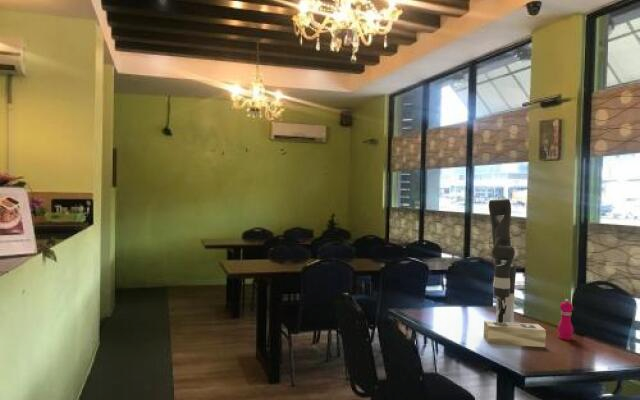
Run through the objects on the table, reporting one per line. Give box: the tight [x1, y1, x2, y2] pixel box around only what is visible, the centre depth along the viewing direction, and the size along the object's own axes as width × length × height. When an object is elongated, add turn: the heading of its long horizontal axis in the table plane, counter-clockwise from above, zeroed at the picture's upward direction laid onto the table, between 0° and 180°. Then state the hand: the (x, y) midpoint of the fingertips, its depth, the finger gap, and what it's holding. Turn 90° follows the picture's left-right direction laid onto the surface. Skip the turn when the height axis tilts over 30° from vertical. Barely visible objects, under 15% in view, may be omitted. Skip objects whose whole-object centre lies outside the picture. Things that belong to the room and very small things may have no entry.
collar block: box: [483, 320, 547, 348], centre depth 248 cm, size 12×26×8 cm, turn 83°
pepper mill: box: [557, 298, 574, 341], centre depth 259 cm, size 7×7×20 cm
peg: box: [495, 320, 505, 325], centre depth 249 cm, size 4×4×8 cm
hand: (500, 321), depth 249 cm, fingers closed
